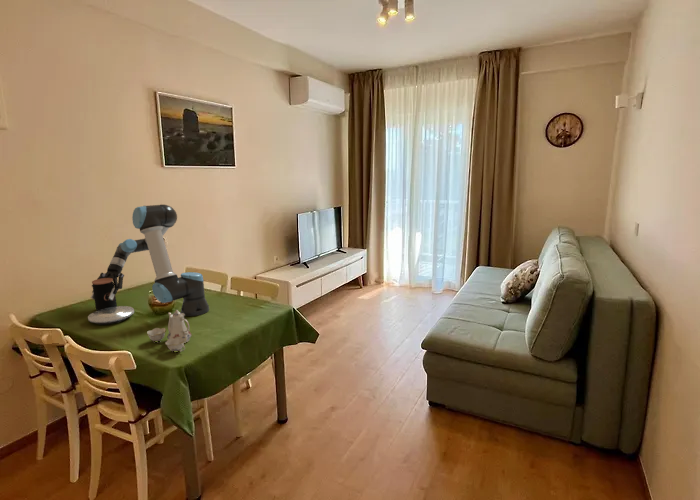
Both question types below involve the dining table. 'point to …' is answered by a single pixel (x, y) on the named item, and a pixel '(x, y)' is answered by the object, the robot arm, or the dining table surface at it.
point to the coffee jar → (103, 293)
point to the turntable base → (111, 322)
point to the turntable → (110, 314)
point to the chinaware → (173, 332)
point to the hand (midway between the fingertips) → (101, 298)
